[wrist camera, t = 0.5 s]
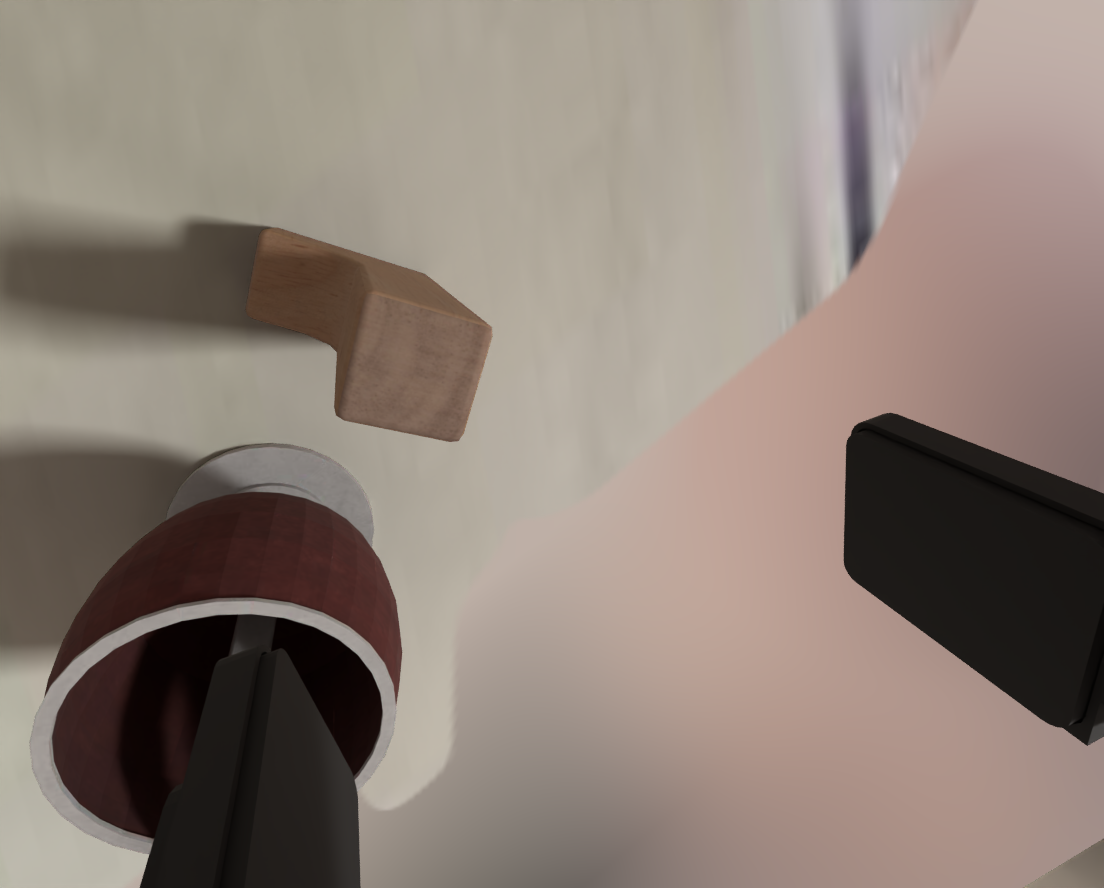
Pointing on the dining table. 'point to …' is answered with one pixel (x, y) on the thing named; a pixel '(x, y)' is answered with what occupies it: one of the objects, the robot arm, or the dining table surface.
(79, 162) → the dining table surface
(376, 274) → the wooden block
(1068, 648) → the robot arm
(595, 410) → the dining table surface
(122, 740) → the mate gourd
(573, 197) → the dining table surface
